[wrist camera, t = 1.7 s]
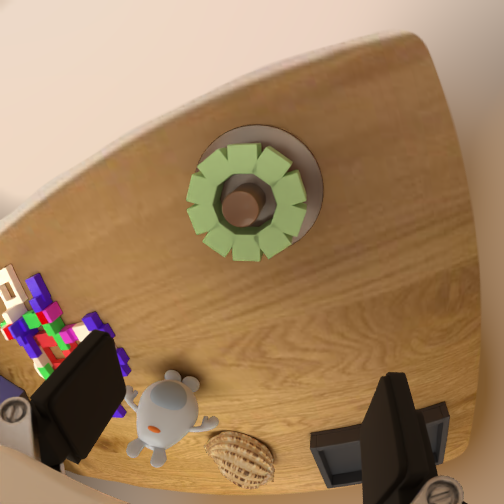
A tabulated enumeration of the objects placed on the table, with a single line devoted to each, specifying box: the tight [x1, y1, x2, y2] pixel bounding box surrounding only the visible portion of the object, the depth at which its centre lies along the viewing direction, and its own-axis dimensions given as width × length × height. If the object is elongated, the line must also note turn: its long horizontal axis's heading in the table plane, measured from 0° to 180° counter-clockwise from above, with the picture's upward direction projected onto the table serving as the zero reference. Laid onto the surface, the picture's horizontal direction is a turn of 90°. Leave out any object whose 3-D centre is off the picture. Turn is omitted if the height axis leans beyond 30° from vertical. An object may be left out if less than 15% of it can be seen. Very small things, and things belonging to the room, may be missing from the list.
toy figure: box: [124, 370, 219, 467], centre depth 28 cm, size 11×6×12 cm, turn 77°
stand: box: [195, 125, 323, 247], centre depth 22 cm, size 10×10×7 cm
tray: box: [310, 402, 450, 488], centre depth 32 cm, size 17×12×2 cm
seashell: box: [204, 431, 275, 489], centre depth 36 cm, size 8×6×10 cm
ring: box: [186, 143, 307, 261], centre depth 21 cm, size 7×8×2 cm
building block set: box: [0, 264, 131, 418], centre depth 34 cm, size 25×20×4 cm
